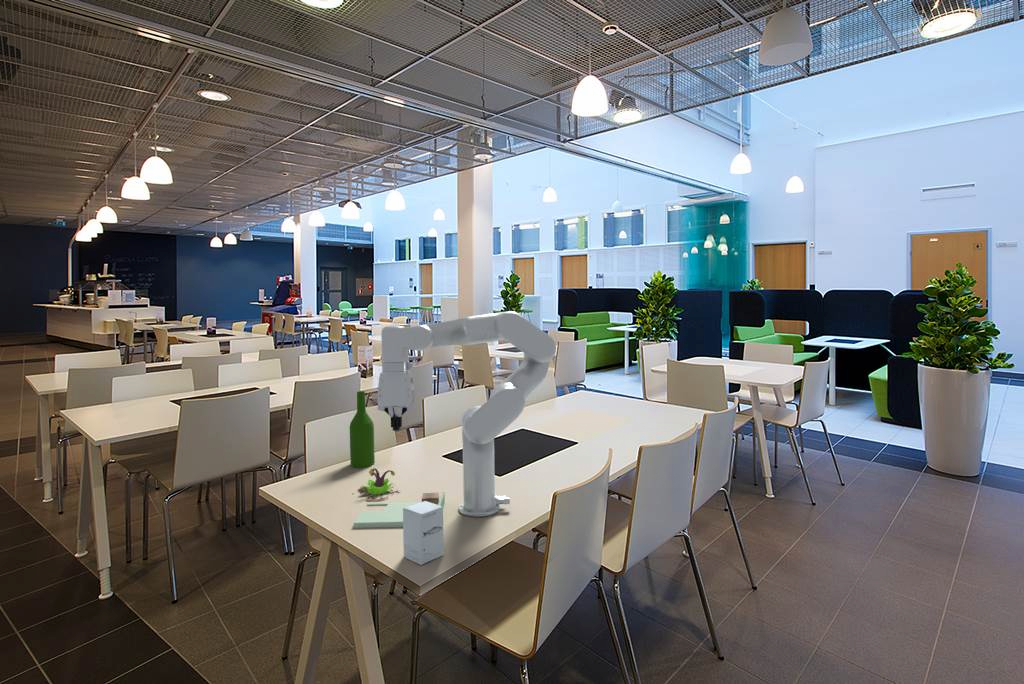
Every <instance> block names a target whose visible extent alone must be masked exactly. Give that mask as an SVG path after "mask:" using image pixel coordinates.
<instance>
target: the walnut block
mask: <svg viewBox="0 0 1024 684" xmlns="http://www.w3.org/2000/svg"><path fill="white" fill-rule="evenodd" d="M439 494H440V493H439V492H426V493H425V492H424V493H422V495H421V502H424V501H427V502H430V503H434V504H437V505H438V503H439V500H440V495H439Z"/></svg>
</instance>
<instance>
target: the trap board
mask: <svg viewBox="0 0 1024 684" xmlns="http://www.w3.org/2000/svg"><path fill="white" fill-rule="evenodd" d="M445 494H446V493H445V491H443V492H441V493H440V496H439V503H438V505H440V506H443V509H444V507H445V505H446V504H445V503H446V501H445V500H446V498H445V496H446V495H445ZM421 502H422V501H417V502H416V501H411V502H367V503H366V506H367V507H373V506H376V507H377V506H385V508H384V510H380V511H379V510H378V511H377V510H376V511H375V510H374V511H373V510H372V511H361V512H360V513H359V515H358V516H357V518H356V519H355V520H354V522H353V528H354V529H355V528H357V529H358V528H359V529H360V528H362V529H363V528H398V527H399V528H401V527H402V528H403V508H405V507H408V506H412V505H415V504H418V503H421Z"/></svg>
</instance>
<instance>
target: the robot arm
mask: <svg viewBox="0 0 1024 684" xmlns="http://www.w3.org/2000/svg"><path fill="white" fill-rule="evenodd" d="M380 334H381V335H380V336H381V371H382V372H380V373H379V377H378V386H377V407H376V408H377V410H378V411H381V412H385V413H386V414H387V415H388V416H389V418H390V427H391V428H392V431H397V432H398V431H400V430H401V428H403V427H402V426H403V419H402V418H403V415H404V414H405V413H406V412H409V411H413V410H415V404H414V402H415V392H414V390H415V389H414V378H413V375H412V371H410V369H414V363H410V362H409V350H410V351H411V350H412V351H419V352H420V351H421V352H422V351H425V350H428V349H432V348H439V347H445V346H471V345H479V344H486V343H492V342H493V343H494V342H500V341H507V342H508V343H509V344H511V345H513V347H515V348H517V349H518V350H519V351H521V352H522V353H523V359H522V361H521V363H520V365H519V366H518V367H517V368H516V369H515V370H514V371H513V372H512V373H511V374H510V375H508V376H507V377H506V378H505V379H504V380H503V381H501V382H500V383H499V384H497V385H496V386H494V388H493V389H492V390H491V392H490V395H489V399H488V400H486V401H485V402H484V403H483V404H482V405H473V406H470V407H469V408H468V409H467V410H465V412H464V414H463V416H462V417H461V438H462V474H463V475H462V479H463V481H462V482H463V483H462V485H463V487H462V488H463V490H462V491H463V502H461V503H460V504H459V505H458V512H459V513H460V514H462V515H463V516H466V517H474V518H475V517H477V518H478V517H487V516H492V515H495V514H496V513H498V512H499V511H500V510H501V505H511V504H510V503H511V501H510V499H511V498H510V497H506V495H501V496H500V495H497V491H496V489H495V487H496V486H495V483H496V480H495V477H496V476H495V438H496V437H498V436H499V435H500V434H501V433H502V432H504V430H506V429H507V428H508V427H509V426H510V425H511V424H513V422H515V421H516V420H517V419H518V418H519V417H520V415H521V414H522V413H523V412H524V410H525V406H526V399H527V398H528V397H529V396H530V395H531V394H532V393H534V391H536V389H537V388H538V387H540V385H541V384H542V383H543V382H544V380H545V378H546V377H547V374H548V372H549V367H550V361H551V360H553V358H554V357H555V355H556V353H557V344H556V341H555V340H554V338H553V337H552V335H549V334H548V332H545V331H544V330H543V329H541V328H539V327H538V326H537V325H535V324H534V323H532V322H531V321H530V320H528V319H527V318H525V317H524V315H523V316H522V315H521V314H519V313H518V312H516V311H512V310H509V311H501V312H495V313H494V312H493V313H492V312H491V313H487V314H479V315H478V314H477V315H472V316H465V317H459V318H457V319H453V320H448V321H441V322H433V323H426V324H418V325H417V324H416V325H410V326H403V325H391V326H389V325H388V326H387V325H386V326H384V327H382V329H381V333H380ZM395 407H397V414H396V411H395Z"/></svg>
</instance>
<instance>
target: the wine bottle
mask: <svg viewBox="0 0 1024 684" xmlns="http://www.w3.org/2000/svg"><path fill="white" fill-rule="evenodd" d="M374 429H375V426H374V422H373V420H372V418H371V416H370V415H369V414H368V413H367V408H366V391H363V390H362V391H360V390H359V391H357V392H356V413H355V414H354V417H353V418H352V420H351V422H350V424H349V450H350V451H349V452H350V454H349V455H350V456H349V457H350V460H349V461H350V467H351V468H354V469H365V468H369V467H373V466H374V465H375V464H374V463H376V461H375V430H374ZM372 465H373V466H372Z"/></svg>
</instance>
